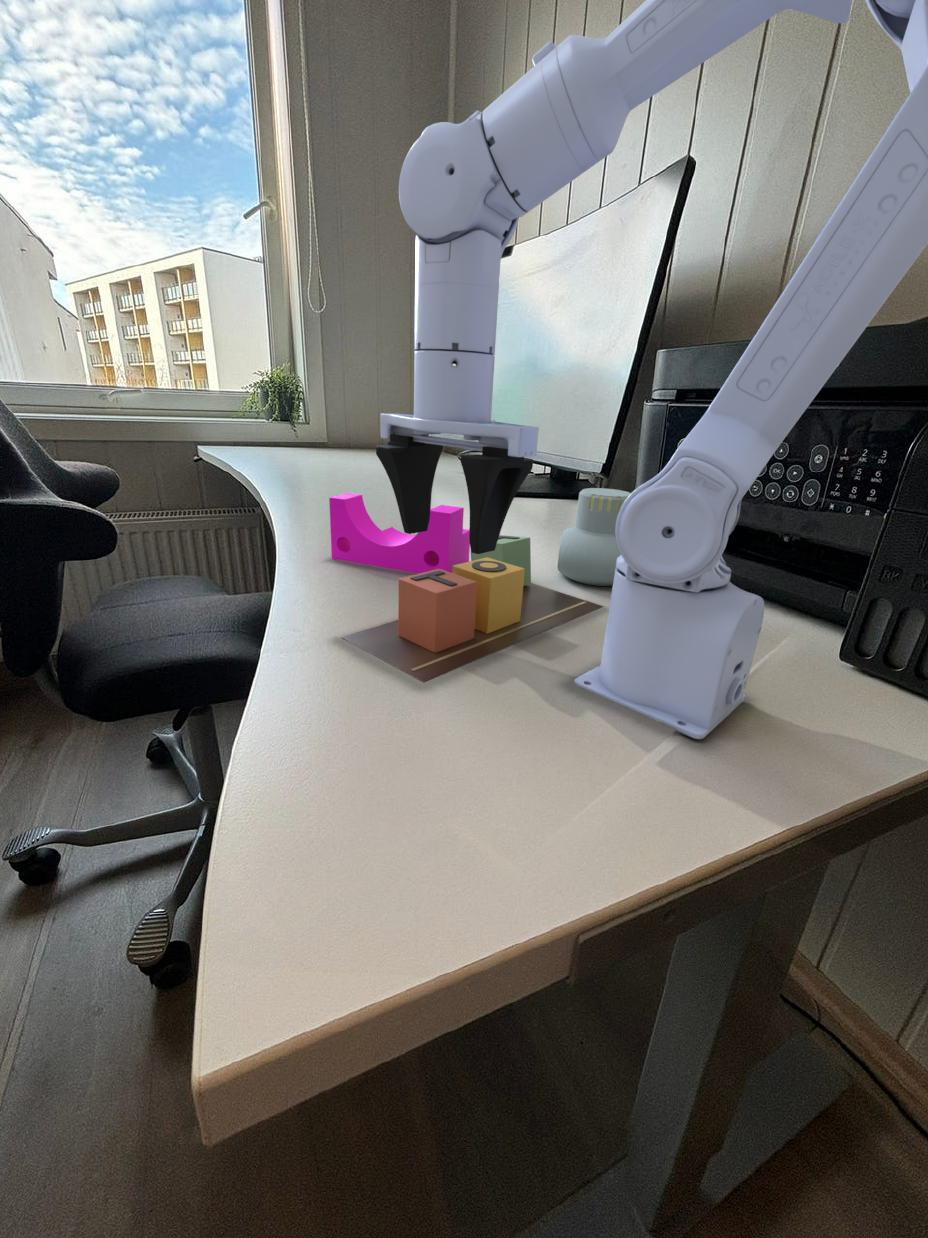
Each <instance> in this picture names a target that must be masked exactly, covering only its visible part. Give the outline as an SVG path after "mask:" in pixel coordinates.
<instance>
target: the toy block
mask: <svg viewBox="0 0 928 1238" xmlns="http://www.w3.org/2000/svg"><path fill="white" fill-rule="evenodd" d="M328 498H329V499H328V500H329V501H328V502H329V503H328V504H329V525H330V551H331V553H330V554H331V560H335V561H337V560H339V561H345V562H349V563H356V564H363V565H369V566H374V567H379V568H386V569H391V570H396V571H403V572H409V573H413V574H420V573H424V572H428V571H432V570H436V569H441V570H444V571H447V572H450V573H452V570H453V565H457V564H462V563H466V562H470V552H471V548H470V540H469V529H466V528H464V515H465V514H464V512H465V507H461V506H453V505H446V504H445V505H444V504H440V505H437V506H435V507H433V508H431V509H430V520H429V525H428V529H427V531H423V532H418V533H416V534H407V533H405V532H402V531H400V530H398V529H397V528H395V527H393V526H391V527H388V528H386V529H383V530H382V529H380V528H379V526H377V524H376V523H375V522H374V521H373V520H372V518H371V516H370V515H369V513H368V511H367V508H366V505H365V502H364V498H363V494H359V493H350V492H345V493H341V494H338V495H333V496H330V497H328Z"/></svg>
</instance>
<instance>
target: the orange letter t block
mask: <svg viewBox="0 0 928 1238" xmlns="http://www.w3.org/2000/svg"><path fill="white" fill-rule="evenodd" d="M476 598H477V582H476V581H473V580H470V579H468V578H465V577H462V576H459V575H456V574H453V573H450V572H447V571H444V570H441V569H436V570H432V571H428V572H424V573H420V574H419V573H415V574H412V575H407V576H404V577H400V578H398V613H397V615H398V616H397V617H398V618H397V620H398V635H399V636H401V637H403V638H405V639H407V640H409V641H411V642H413V643H415V644H417V645H419V646H421V647H423V648H425V649H427V650H429V651H431V652H434V653H437V652H440V651H442V650H445V649H447V648H450V647H453V646H455V645H458V644H461V643H463V642H466V641H468V640H471V639H474V631H475V614H476Z"/></svg>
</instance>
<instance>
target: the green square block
mask: <svg viewBox="0 0 928 1238" xmlns="http://www.w3.org/2000/svg"><path fill="white" fill-rule="evenodd" d="M531 551H532V550H531V537H529V536H517V535H507V534H506V535H505V534H500V535H499V538H498V541H497V544H496V548H495V550H494V551H490V552H486V553H482V554H475V553H472V552H471V551H470V561H474V560H478V559H482V558H486V557H488V558H491V559H494V560H498V561H501V562H504V563H508V564H511V565H514V566H518V567H521V568H524V569H525V573H524V584H523V586H525V585H528V584H531V583H532V565H531V563H532V562H531V561H532V559H531V553H532V552H531Z"/></svg>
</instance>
